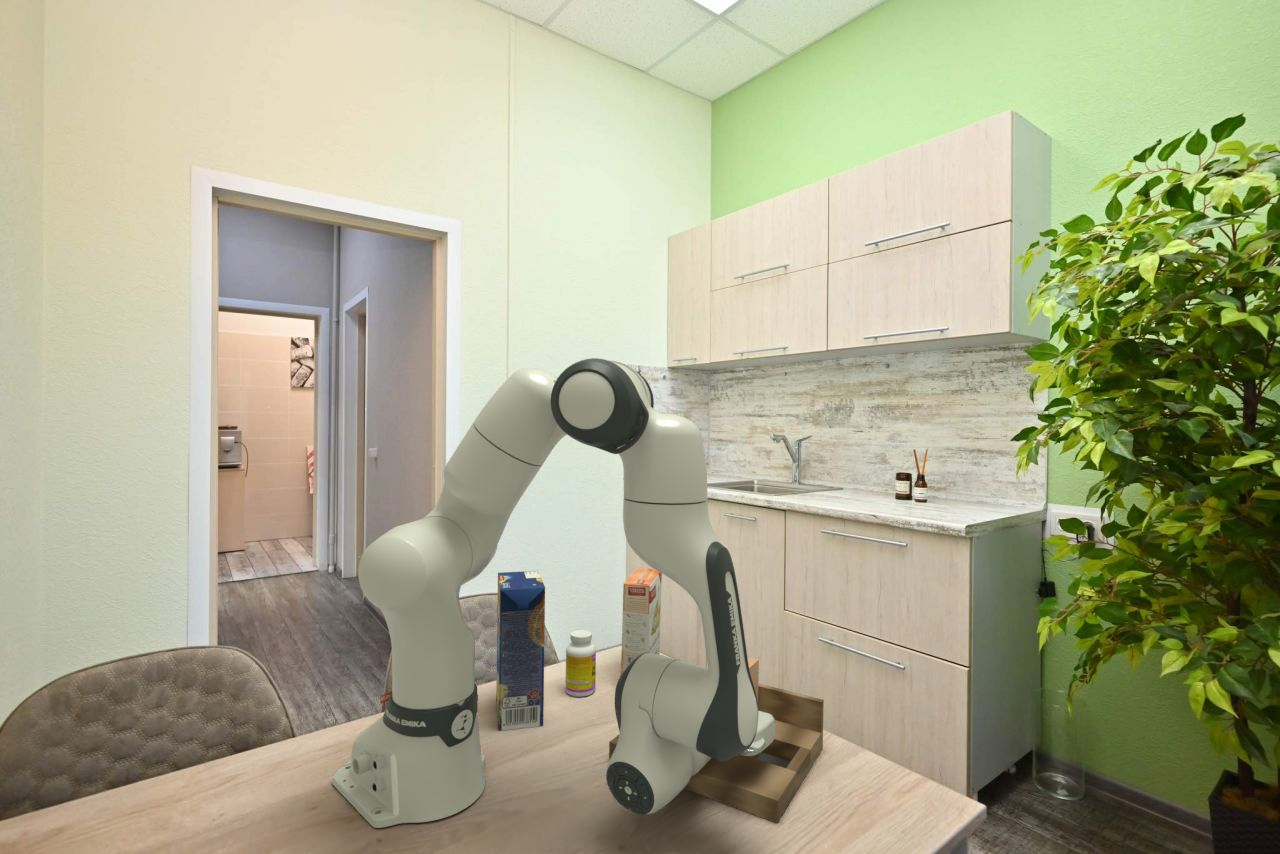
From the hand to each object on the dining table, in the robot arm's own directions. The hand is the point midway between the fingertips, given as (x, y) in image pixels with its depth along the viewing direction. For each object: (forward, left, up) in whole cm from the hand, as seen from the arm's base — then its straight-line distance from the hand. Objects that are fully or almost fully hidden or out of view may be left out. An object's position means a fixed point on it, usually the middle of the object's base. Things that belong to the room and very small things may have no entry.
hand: (726, 697), depth 100 cm
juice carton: (-36, -10, -8) cm, 38 cm away
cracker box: (-26, +16, -8) cm, 32 cm away
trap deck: (0, -3, -8) cm, 9 cm away
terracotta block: (0, +3, -5) cm, 6 cm away
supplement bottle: (-32, +3, -8) cm, 33 cm away
